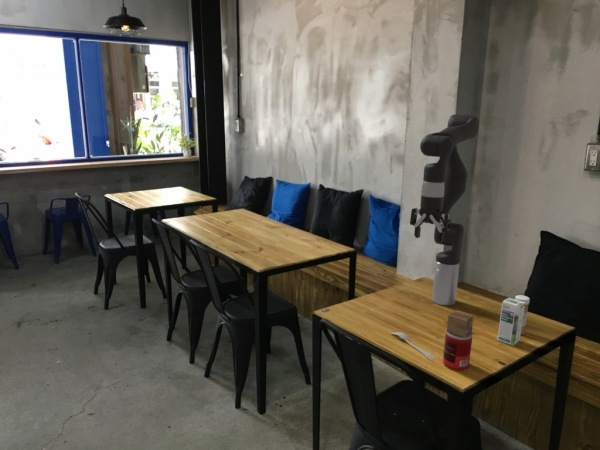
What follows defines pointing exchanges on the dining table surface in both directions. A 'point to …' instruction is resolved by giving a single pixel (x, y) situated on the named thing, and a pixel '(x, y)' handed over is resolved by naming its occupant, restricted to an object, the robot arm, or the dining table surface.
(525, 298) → the sprinkles bottle
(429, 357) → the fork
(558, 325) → the dining table surface
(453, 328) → the walnut cube
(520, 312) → the syrup box
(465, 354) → the canned food
